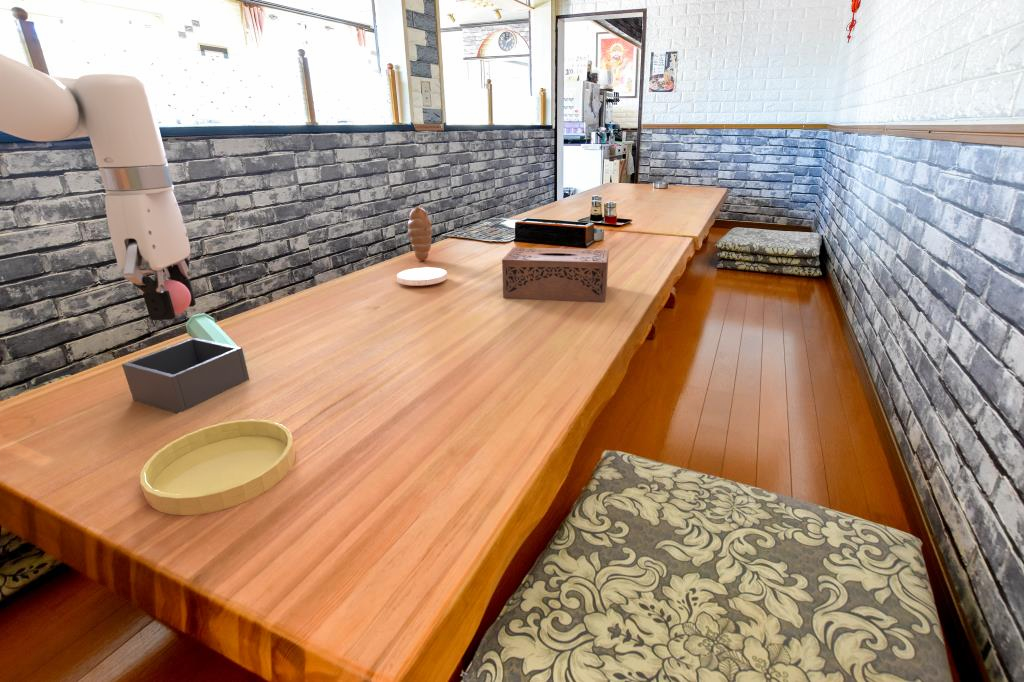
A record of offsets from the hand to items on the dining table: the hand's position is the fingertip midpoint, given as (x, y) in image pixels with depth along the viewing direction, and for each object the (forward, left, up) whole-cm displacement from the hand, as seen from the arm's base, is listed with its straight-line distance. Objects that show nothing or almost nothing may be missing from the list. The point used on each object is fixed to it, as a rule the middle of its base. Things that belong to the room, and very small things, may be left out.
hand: (174, 311), depth 76 cm
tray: (-9, -16, -17) cm, 25 cm away
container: (+18, +20, -18) cm, 32 cm away
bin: (+5, +10, -17) cm, 21 cm away
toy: (0, 0, 0) cm, 0 cm away
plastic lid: (+77, +12, -18) cm, 80 cm away
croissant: (+99, +27, -18) cm, 104 cm away
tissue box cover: (+82, -27, -18) cm, 88 cm away
